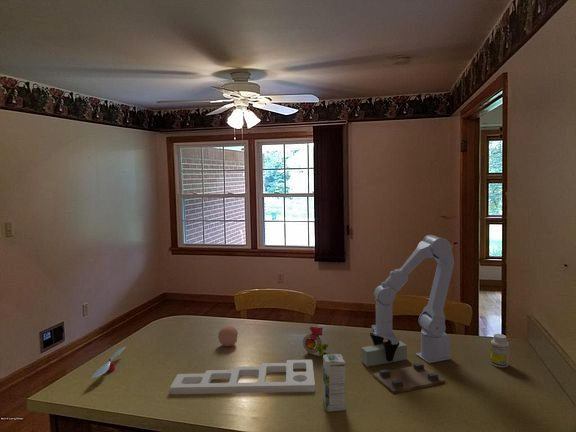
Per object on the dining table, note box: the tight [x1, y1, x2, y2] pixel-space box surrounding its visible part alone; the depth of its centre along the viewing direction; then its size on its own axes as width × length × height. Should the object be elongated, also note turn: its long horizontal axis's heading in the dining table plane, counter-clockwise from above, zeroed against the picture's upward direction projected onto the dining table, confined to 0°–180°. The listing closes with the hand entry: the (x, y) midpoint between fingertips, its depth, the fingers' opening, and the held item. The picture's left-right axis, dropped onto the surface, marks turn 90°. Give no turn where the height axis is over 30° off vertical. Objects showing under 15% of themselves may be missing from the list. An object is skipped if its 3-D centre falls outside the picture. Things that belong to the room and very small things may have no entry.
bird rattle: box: [302, 326, 329, 357], centre depth 157 cm, size 6×11×9 cm
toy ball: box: [217, 325, 239, 347], centre depth 167 cm, size 8×8×8 cm
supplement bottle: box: [490, 333, 510, 368], centre depth 144 cm, size 6×6×10 cm
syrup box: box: [322, 353, 346, 413], centre depth 121 cm, size 6×6×14 cm
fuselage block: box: [360, 340, 408, 367], centre depth 150 cm, size 16×4×6 cm, turn 108°
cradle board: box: [372, 362, 446, 395], centre depth 136 cm, size 19×12×2 cm, turn 108°
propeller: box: [90, 346, 127, 379], centre depth 148 cm, size 4×25×4 cm, turn 177°
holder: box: [169, 359, 316, 395], centre depth 139 cm, size 45×18×3 cm, turn 89°
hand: (384, 356), depth 150 cm, fingers open, 7 cm apart
